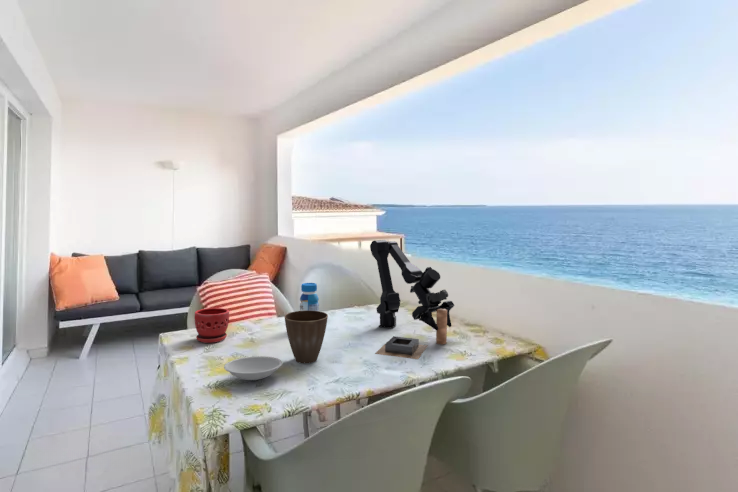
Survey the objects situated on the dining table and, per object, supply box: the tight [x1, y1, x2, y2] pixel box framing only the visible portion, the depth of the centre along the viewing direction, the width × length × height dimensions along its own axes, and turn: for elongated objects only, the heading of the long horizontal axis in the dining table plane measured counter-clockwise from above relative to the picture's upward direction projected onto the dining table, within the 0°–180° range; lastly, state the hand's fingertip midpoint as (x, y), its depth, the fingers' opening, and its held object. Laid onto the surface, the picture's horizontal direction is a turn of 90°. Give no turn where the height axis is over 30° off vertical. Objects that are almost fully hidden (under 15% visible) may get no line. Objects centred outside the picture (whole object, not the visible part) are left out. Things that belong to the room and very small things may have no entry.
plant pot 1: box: [194, 307, 230, 344], centre depth 173 cm, size 13×13×12 cm
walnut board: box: [374, 343, 429, 360], centre depth 158 cm, size 16×16×1 cm
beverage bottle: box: [299, 282, 320, 311], centre depth 188 cm, size 8×8×20 cm
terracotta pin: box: [435, 309, 448, 345], centre depth 166 cm, size 4×4×14 cm
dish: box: [223, 355, 283, 381], centre depth 133 cm, size 18×14×5 cm
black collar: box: [384, 335, 420, 355], centre depth 158 cm, size 10×10×3 cm
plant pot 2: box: [284, 310, 329, 364], centre depth 149 cm, size 15×15×16 cm
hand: (444, 328), depth 165 cm, fingers open, 7 cm apart
